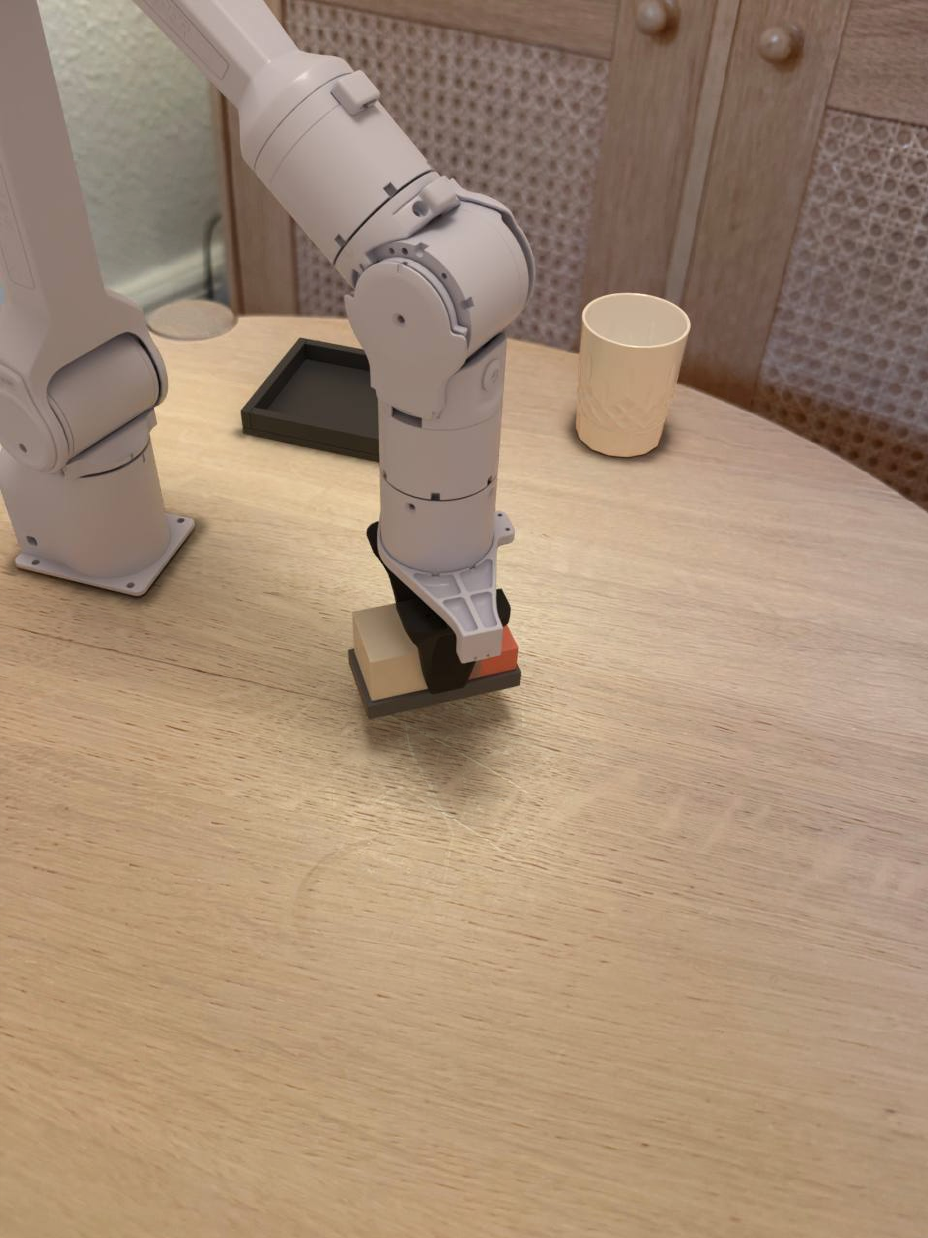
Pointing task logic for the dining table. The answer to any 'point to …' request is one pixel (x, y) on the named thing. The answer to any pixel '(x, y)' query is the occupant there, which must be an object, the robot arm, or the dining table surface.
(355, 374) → the black rectangular tray
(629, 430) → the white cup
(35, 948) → the dining table surface
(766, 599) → the dining table surface
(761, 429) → the dining table surface
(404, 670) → the blocks on dark base
